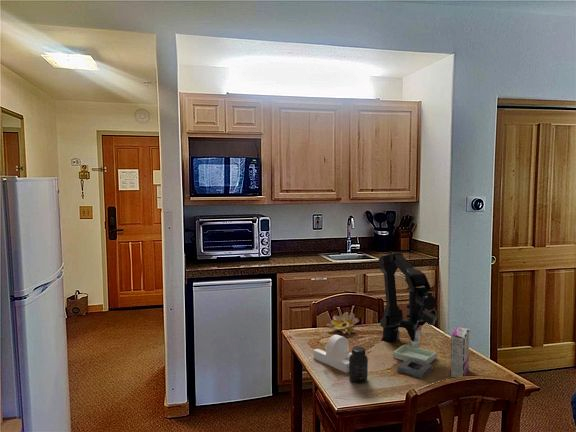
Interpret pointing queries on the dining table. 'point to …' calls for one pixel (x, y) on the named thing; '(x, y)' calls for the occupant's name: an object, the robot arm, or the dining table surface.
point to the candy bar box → (459, 352)
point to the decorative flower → (344, 322)
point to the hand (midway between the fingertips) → (414, 339)
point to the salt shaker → (416, 338)
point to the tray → (414, 354)
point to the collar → (407, 369)
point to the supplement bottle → (358, 365)
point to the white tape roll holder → (335, 353)
